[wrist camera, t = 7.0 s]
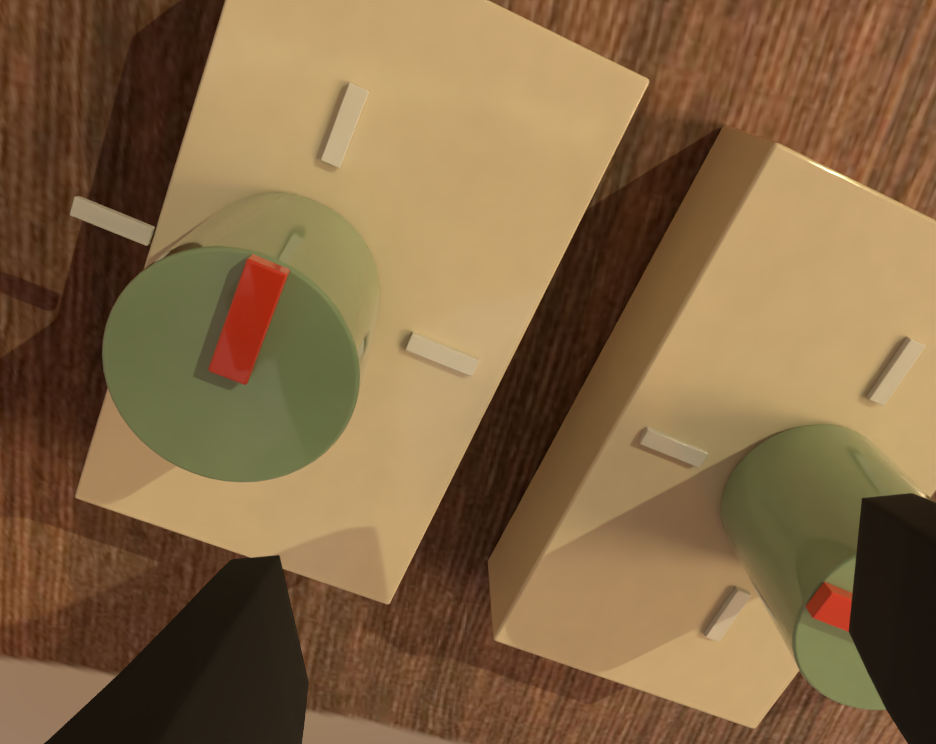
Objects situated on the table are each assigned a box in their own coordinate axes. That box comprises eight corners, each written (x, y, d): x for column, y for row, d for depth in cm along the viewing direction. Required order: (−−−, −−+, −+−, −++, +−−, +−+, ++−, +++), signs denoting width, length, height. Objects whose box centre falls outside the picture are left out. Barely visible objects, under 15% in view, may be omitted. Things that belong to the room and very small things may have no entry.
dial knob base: (761, 660, 23) (806, 753, 20) (486, 561, 21) (492, 646, 18) (1040, 278, 19) (1149, 324, 16) (723, 123, 17) (779, 142, 14)
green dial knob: (341, 405, 16) (305, 527, 12) (162, 336, 16) (63, 442, 12) (410, 240, 15) (396, 317, 11) (219, 158, 14) (131, 208, 10)
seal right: (926, 461, 17) (1072, 593, 13) (828, 592, 18) (933, 750, 14) (780, 397, 16) (887, 515, 12) (688, 537, 18) (758, 685, 14)
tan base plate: (396, 529, 21) (388, 611, 18) (67, 411, 19) (0, 479, 16) (618, 71, 17) (653, 80, 14) (220, -123, 15) (166, -159, 12)
